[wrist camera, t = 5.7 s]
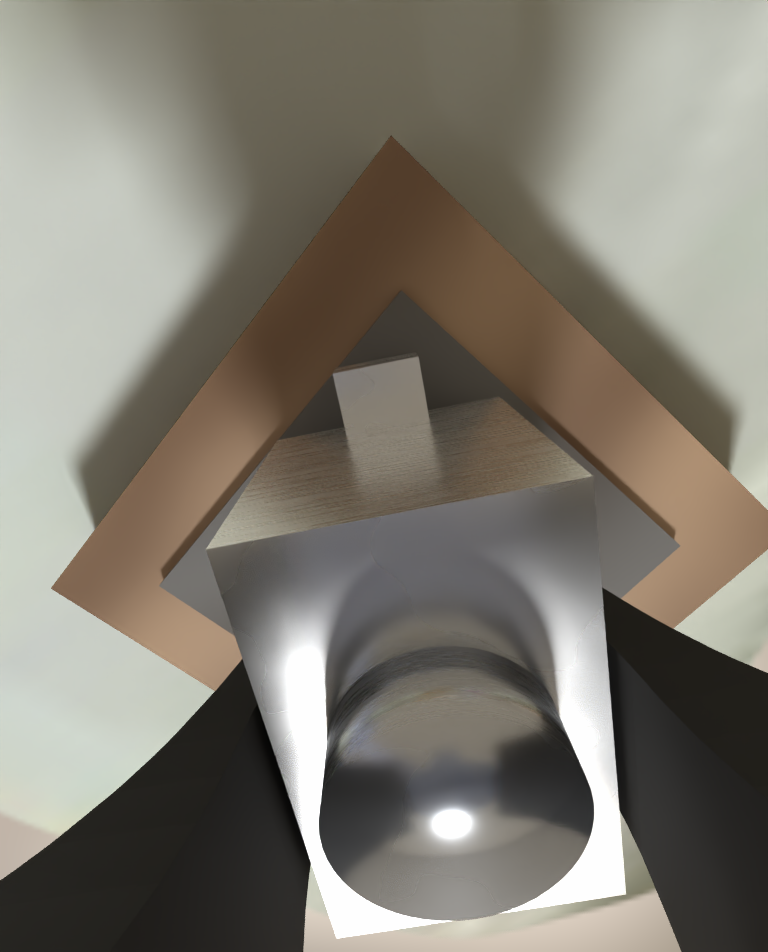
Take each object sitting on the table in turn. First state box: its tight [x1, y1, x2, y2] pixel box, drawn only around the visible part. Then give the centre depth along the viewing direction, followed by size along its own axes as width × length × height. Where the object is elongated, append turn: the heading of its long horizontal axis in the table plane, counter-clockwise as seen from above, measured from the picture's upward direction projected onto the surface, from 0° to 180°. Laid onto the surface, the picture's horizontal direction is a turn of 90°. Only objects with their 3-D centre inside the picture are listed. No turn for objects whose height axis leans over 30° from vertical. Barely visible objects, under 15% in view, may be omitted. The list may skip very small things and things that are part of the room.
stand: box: [51, 136, 768, 691], centre depth 15 cm, size 13×13×3 cm
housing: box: [206, 352, 626, 938], centre depth 9 cm, size 5×9×6 cm, turn 11°
